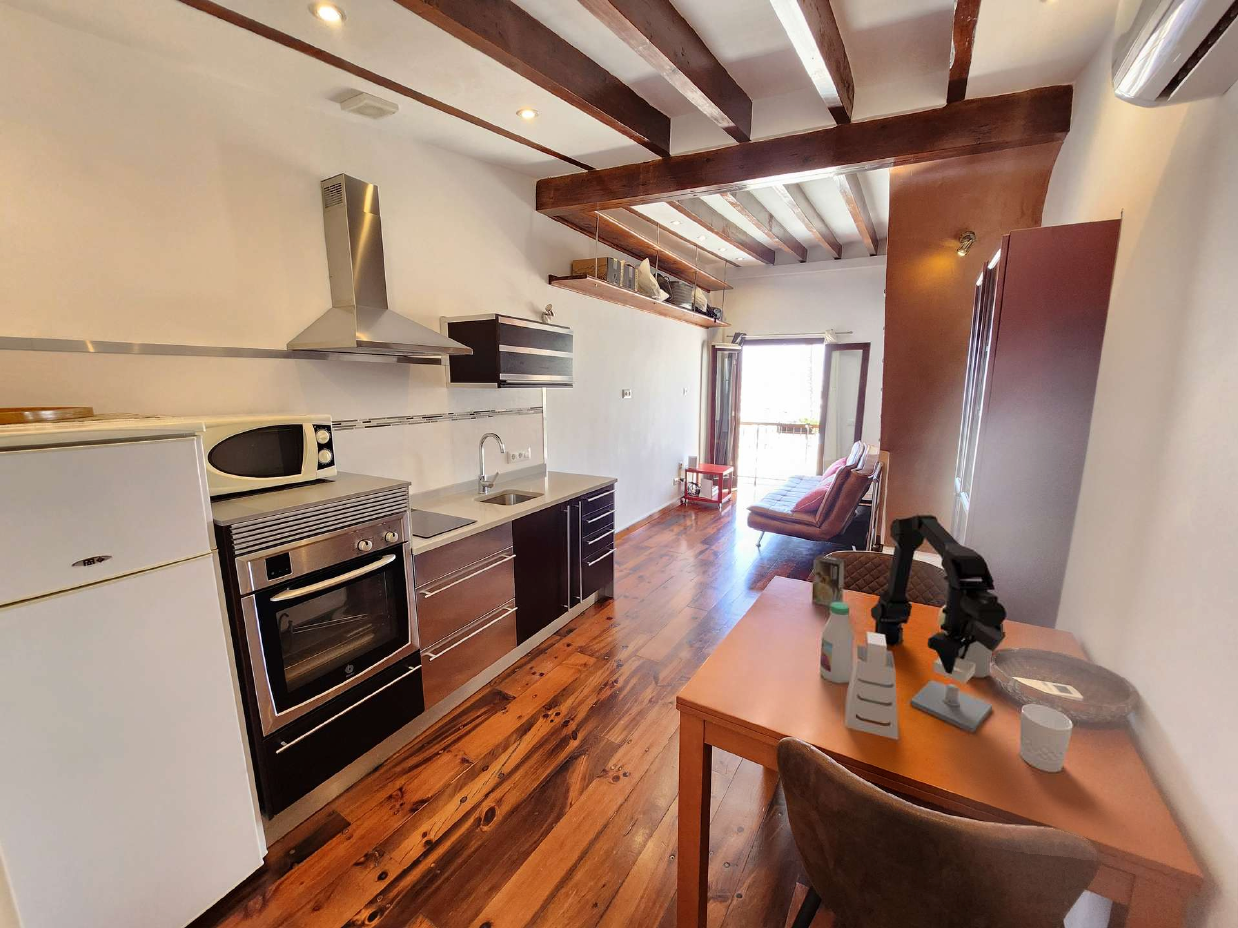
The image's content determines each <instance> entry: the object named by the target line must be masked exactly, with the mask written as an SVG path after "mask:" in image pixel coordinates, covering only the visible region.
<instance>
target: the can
mask: <svg viewBox="0 0 1238 928" xmlns="http://www.w3.org/2000/svg"><path fill="white" fill-rule="evenodd" d="M992 654H993V651H991V650H989V649H987V648H986V647H985V646H984V645H982V644H981V643H979V642H978V641H977V642H974V643H972V644H971V646H970V648H969V650H968V652H967V654H966V657H965V659H964V660H966V661H969V662H972V663H975V664H976V666H975V674H974V675H973V676H972V677H973V678H977V679H979V678H980V679H983V678H986V677H988V676H989V675H990V671H991V665H990V663H991V664H992V656H993V655H992ZM972 677H971V678H972Z"/></svg>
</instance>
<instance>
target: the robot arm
mask: <svg viewBox="0 0 1238 928" xmlns="http://www.w3.org/2000/svg"><path fill="white" fill-rule="evenodd" d="M889 530H890V534H889V535H890V538H891V540H892V542H893V544H894V549H893V556H892V560H891V566H890V571H889V576H888V582H887V588H886V589H885V590H884V591H883V592H882V593H881V594H879V597H878V600H877V603H876V604H875V605H874V606H873V607H872V608H870V615H871V618H872V619H873V620H874V621H875V624H874V633H878V634H884V635H885V639H886V645H889V646H890V647H891V646H892V647H895V646H896V645H898V644H900V643H901V642H902V641H903V640H904V638H903V636H904V628H903V625H902V624H904V625H905V624H908V621H909V619H910V617H911V614H912V613H911V612H912V608H913V606H912V604H911V603H910V601H909V599H908V597H907V590H908V587H909V581H910V576H911V571H912V565H913V562H914V556H915V552H916V550H918V549H919V548H920V547H921V546H922V545H924V541H925V540H926V541H927V542H928V543H929V545H930V546H931V547H932V548H933V550H935V551H936V553H937V554H938V555H939V556H940V557H941V564H940V565H941V566H942V569H943V570H944V571H945V574H946V575H945V576H944V577H943V580H944V581H945V582H947V591H946V600H945V601H946V602H945V605H946V607H944V608H943V610H942V613H944V614H945V620H944V623H943V624H942V625H941V627H940V630H942V631H943V630H944V631H947V633H944V632H935V633H934V634H932V635H931V636H930V637H928V639H927V647H928V648H929V649H931V650H932V651H933V650H934V651H936V653H937V656H938V658H940V660H941V662H942V664H943V667H944V669H945V671H946V673H949V674H952V672H953V669H954V666H955V663H956V660H957V658H961V659H965V657H966V654H967V652H968V650H969V648H970V646H971V644H972V643H974V642H977V641H978V642H979V643H981V644H982V645H984V646H985V647H986V648H987V649H989V650H991V651H992V652H994V651H995V650H996V649H997V648H998V647H999V646H1000V644H1001V643H1002V642H1003V641H1004V639H1005V637H1006V632H1005V631H1004V622H1005V620H1006V617H1007V612H1006V608H1005V607H1004V605H1003V604H1002V603H1000V602H999V597H998V596H997V595H996V594H994V593H991V592H989V591H994V590H995V585H994V579H993V577H992V574H991V572H990V571H989V570H990V569H989V566H988V564H987V562H986V560H985V558H984V557H983V556H982V555H981V554H979V553H978V552H977V551H975V550H973V549H972V548H969V547H966V546H963V545H961V544H960V543H959V541H957V539H956V538H954V536H952V535H951V534H950V533H949V532H948V531H947V529H946V528H944V527H943V525H942V524H940V523H939V521H938V518H937V517H936V516H935V515H932V514H916V515H913V516H911V517H907V518H895V519H893V520H892V521H891V523H890V525H889Z"/></svg>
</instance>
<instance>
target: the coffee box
mask: <svg viewBox="0 0 1238 928" xmlns="http://www.w3.org/2000/svg"><path fill="white" fill-rule="evenodd" d="M845 561H846V559H842V558H838V557H833V556H829V555H828V556H827V555H823V554H818V555H816V556H815V558H814V559H813V571H812V589H811V590H812V592H811V594H812V596H811V603H815V604H819V605H822V606H826V607H829V608H830V604H831V603H833V602H841V603H844V585H845V584H844V581H845Z"/></svg>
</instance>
